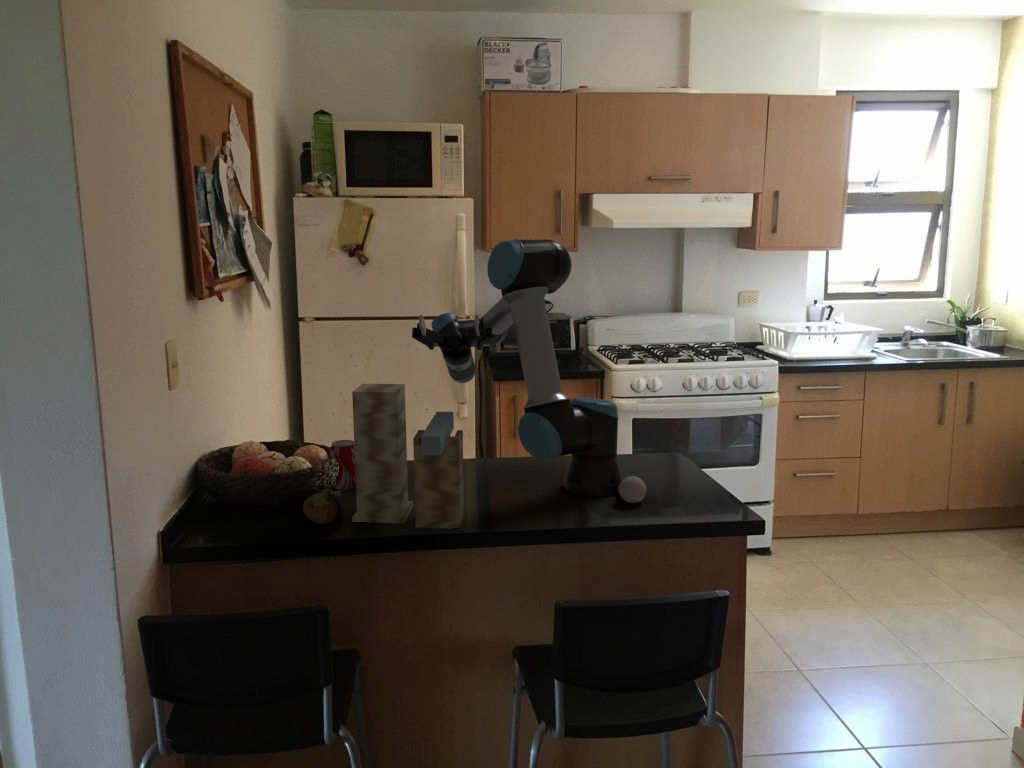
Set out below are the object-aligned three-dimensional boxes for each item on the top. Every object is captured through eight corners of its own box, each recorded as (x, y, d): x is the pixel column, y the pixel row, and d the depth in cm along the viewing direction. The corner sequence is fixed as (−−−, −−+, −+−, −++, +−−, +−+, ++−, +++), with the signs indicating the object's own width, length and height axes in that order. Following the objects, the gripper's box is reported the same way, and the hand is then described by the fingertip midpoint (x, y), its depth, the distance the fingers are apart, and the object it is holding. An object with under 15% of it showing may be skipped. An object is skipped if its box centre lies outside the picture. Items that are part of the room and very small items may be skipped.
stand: (413, 506, 200) (409, 383, 195) (404, 523, 188) (400, 393, 183) (363, 505, 201) (358, 383, 195) (352, 522, 189) (346, 392, 184)
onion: (314, 515, 194) (313, 482, 193) (345, 518, 192) (344, 485, 190) (296, 526, 187) (295, 492, 186) (328, 530, 185) (326, 495, 183)
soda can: (352, 492, 211) (350, 446, 209) (326, 491, 212) (324, 445, 210) (362, 484, 218) (361, 439, 216) (337, 483, 219) (335, 438, 217)
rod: (453, 428, 197) (453, 411, 197) (440, 454, 174) (440, 436, 173) (437, 428, 198) (436, 411, 197) (421, 454, 174) (421, 436, 173)
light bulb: (610, 474, 209) (625, 474, 199) (635, 477, 211) (651, 477, 200) (607, 500, 208) (623, 502, 198) (632, 504, 210) (648, 505, 199)
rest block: (464, 516, 193) (462, 430, 189) (460, 528, 185) (458, 438, 181) (421, 515, 193) (418, 429, 190) (415, 528, 185) (413, 438, 182)
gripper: (503, 365, 221) (499, 334, 201) (410, 365, 222) (396, 334, 202) (504, 339, 224) (499, 306, 204) (412, 339, 225) (398, 306, 205)
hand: (448, 320), depth 203 cm, fingers open, 13 cm apart
